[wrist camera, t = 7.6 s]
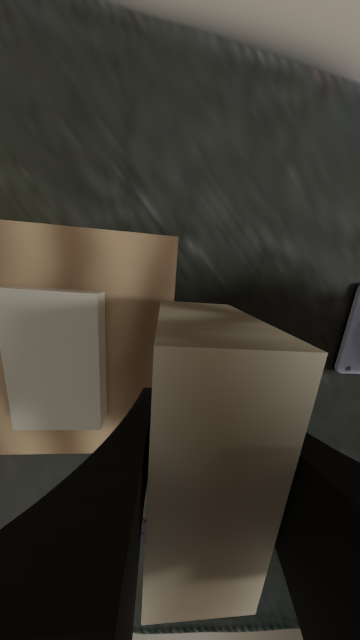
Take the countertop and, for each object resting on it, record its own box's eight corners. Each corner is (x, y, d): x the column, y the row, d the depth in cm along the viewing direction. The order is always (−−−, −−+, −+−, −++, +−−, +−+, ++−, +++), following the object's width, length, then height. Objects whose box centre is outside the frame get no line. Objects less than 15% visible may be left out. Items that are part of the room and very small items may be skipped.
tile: (97, 293, 11) (-10, 287, 11) (101, 429, 14) (13, 430, 13) (105, 291, 13) (12, 285, 13) (107, 413, 15) (29, 413, 15)
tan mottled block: (228, 304, 11) (328, 352, 4) (209, 442, 13) (255, 614, 7) (160, 300, 11) (153, 346, 4) (153, 442, 13) (141, 624, 6)
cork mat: (177, 239, 14) (178, 236, 13) (163, 442, 18) (163, 452, 17) (-71, 215, 12) (-91, 210, 11) (-22, 444, 16) (-34, 455, 15)
